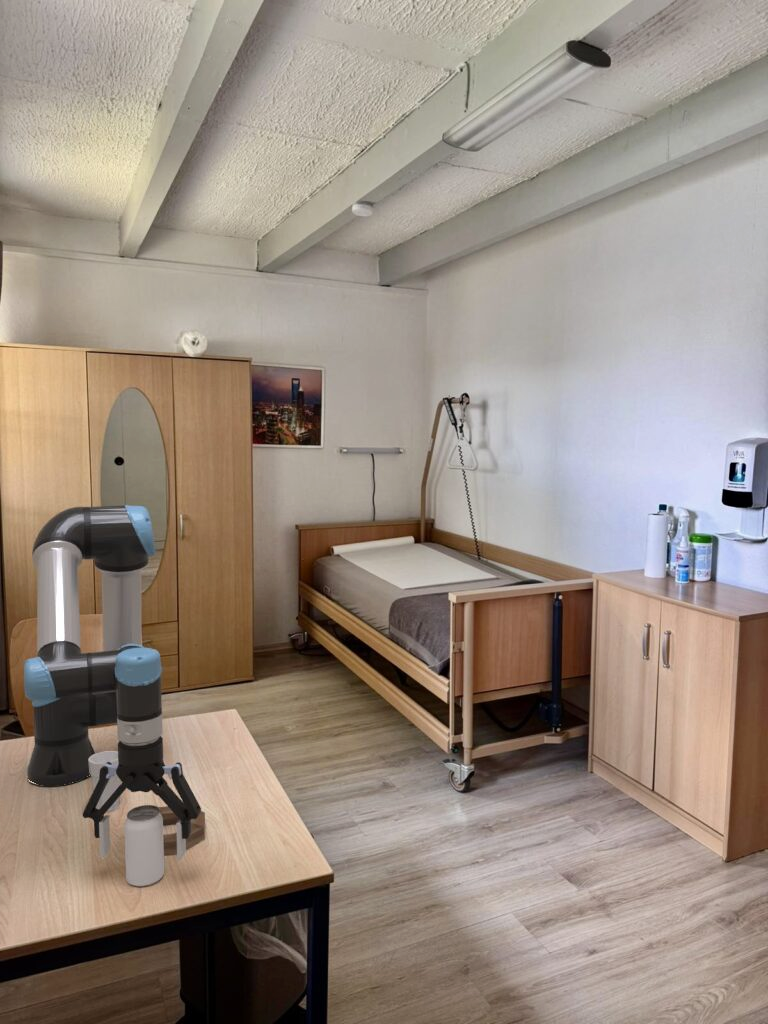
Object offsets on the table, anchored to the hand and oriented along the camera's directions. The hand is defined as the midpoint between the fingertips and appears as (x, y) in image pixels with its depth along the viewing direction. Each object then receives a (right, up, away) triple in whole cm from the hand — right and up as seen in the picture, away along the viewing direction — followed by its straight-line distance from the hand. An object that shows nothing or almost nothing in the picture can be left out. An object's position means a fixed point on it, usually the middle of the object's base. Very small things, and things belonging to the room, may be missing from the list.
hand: (143, 854), depth 130 cm
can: (0, -4, +1) cm, 5 cm away
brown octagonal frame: (0, -3, +15) cm, 15 cm away
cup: (-16, -2, +26) cm, 31 cm away
